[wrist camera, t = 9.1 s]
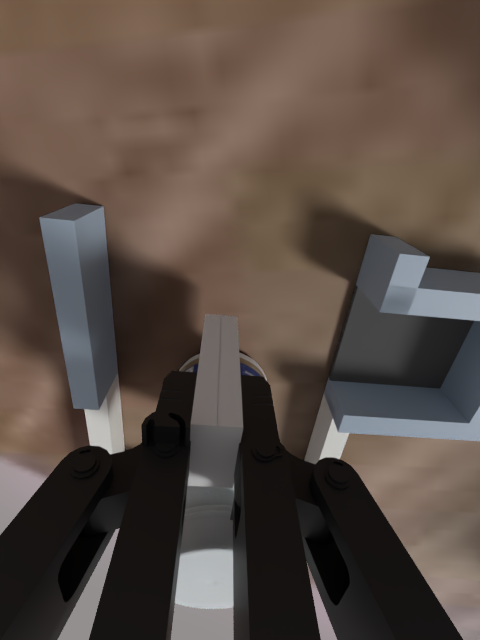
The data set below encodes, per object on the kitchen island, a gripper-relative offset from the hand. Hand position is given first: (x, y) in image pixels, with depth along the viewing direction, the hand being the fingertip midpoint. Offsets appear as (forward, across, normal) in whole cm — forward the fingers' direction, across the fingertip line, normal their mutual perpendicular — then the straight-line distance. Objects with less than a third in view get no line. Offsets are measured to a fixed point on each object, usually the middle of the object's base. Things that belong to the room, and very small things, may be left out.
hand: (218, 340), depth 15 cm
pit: (+2, +10, 0) cm, 10 cm away
